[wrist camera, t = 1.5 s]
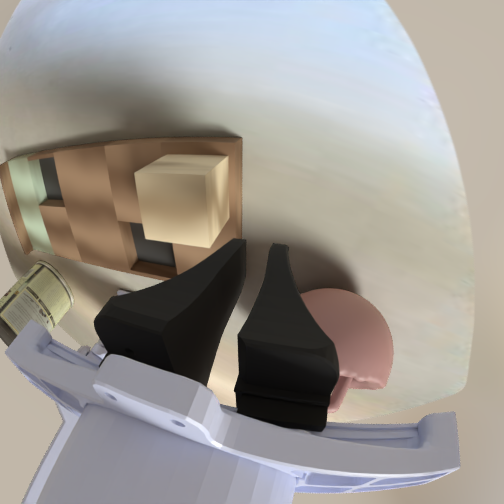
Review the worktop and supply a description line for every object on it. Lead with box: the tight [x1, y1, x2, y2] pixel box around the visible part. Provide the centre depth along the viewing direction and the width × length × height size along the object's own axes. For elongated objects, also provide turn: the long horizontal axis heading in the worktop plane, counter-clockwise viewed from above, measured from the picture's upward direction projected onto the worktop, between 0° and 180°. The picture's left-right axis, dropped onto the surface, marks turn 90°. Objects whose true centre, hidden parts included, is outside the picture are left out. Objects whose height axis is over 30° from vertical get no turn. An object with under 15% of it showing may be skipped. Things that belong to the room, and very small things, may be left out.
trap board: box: [0, 137, 242, 281], centre depth 25 cm, size 14×33×4 cm, turn 89°
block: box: [134, 154, 229, 248], centre depth 19 cm, size 5×5×4 cm
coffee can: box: [0, 261, 74, 347], centre depth 33 cm, size 10×10×14 cm
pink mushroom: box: [300, 288, 394, 413], centre depth 23 cm, size 12×12×12 cm
